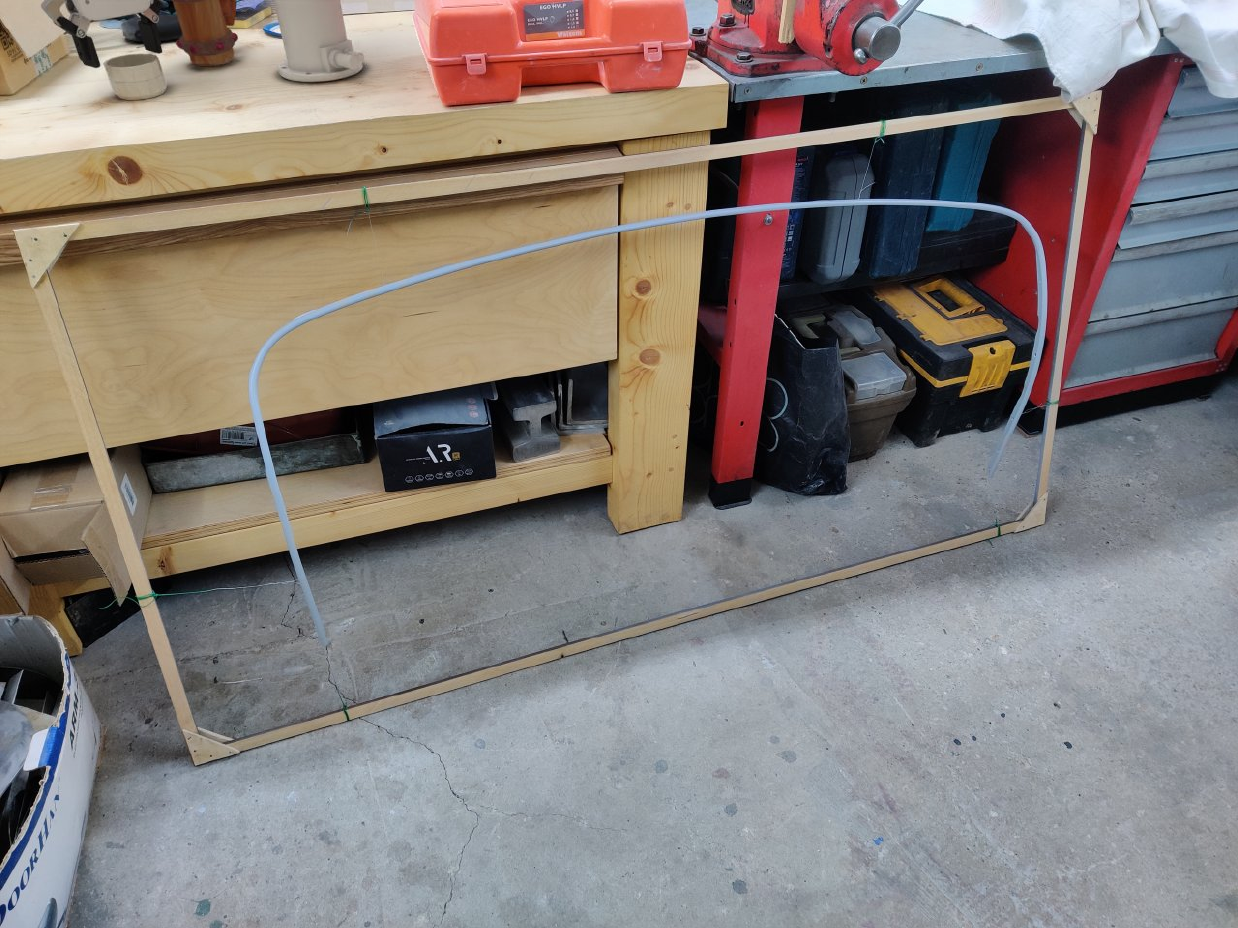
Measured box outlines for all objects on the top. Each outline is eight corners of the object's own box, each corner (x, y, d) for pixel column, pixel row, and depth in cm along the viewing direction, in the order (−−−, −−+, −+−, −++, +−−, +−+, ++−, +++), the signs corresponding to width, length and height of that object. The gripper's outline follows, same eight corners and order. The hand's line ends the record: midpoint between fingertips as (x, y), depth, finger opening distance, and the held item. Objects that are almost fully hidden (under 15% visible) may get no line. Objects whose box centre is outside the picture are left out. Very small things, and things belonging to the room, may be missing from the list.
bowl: (178, 90, 130) (168, 58, 127) (134, 104, 125) (123, 70, 123) (148, 82, 133) (138, 51, 130) (104, 95, 128) (93, 62, 126)
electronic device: (216, 34, 160) (124, 28, 155) (212, 1, 156) (117, -5, 151) (218, 54, 154) (122, 50, 149) (213, 21, 150) (114, 15, 145)
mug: (220, 73, 137) (190, -36, 127) (173, 70, 138) (140, -39, 128) (267, 48, 148) (243, -55, 138) (223, 45, 149) (196, -56, 140)
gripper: (32, -70, 108) (82, 77, 119) (158, -84, 119) (193, 51, 130) (-1, -76, 111) (50, 67, 122) (124, -90, 122) (161, 42, 133)
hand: (124, 59), depth 126 cm, fingers open, 9 cm apart
